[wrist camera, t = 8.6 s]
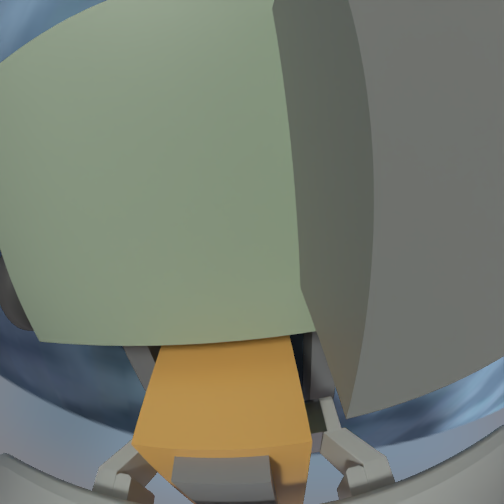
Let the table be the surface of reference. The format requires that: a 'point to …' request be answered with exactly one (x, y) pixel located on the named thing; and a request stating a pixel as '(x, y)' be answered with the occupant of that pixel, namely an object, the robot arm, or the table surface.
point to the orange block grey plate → (227, 422)
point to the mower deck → (263, 185)
